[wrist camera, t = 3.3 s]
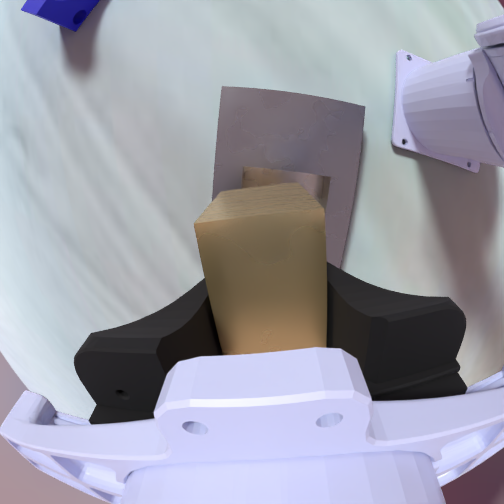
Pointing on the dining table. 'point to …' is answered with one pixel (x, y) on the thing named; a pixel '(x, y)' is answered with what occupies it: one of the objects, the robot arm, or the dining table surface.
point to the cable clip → (61, 11)
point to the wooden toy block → (265, 268)
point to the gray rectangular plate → (292, 150)
